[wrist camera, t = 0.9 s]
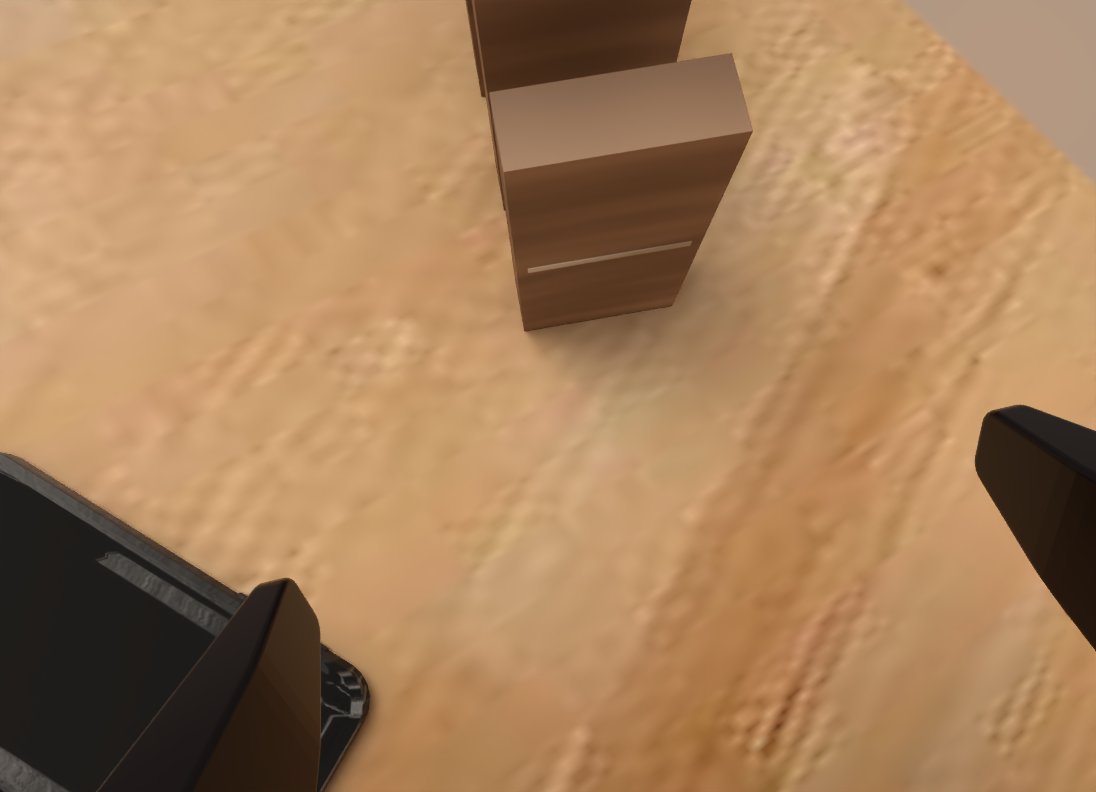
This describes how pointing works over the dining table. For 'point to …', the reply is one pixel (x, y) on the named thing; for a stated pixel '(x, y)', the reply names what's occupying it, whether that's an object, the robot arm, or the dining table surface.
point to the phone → (108, 639)
